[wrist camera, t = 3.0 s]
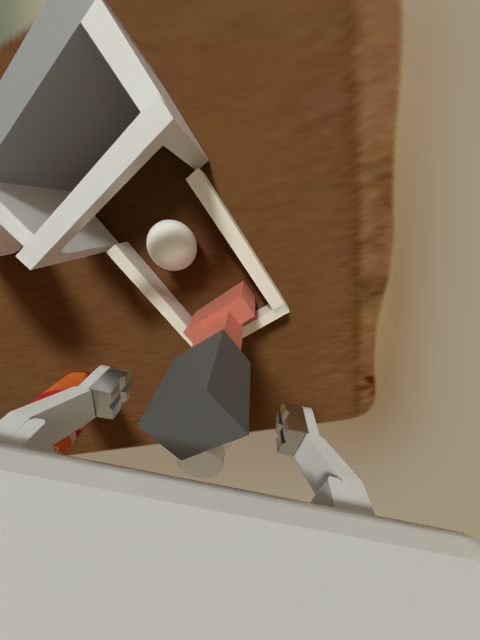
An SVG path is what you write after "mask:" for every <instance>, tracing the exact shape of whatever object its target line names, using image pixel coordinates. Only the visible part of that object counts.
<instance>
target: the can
mask: <svg viewBox="0 0 480 640" xmlns="http://www.w3.org/2000/svg"><path fill="white" fill-rule="evenodd" d="M22 246H23V245H22V244H21V243H20V242H19V241H18V240H17V239H15V238H14V237H13V236H12V235H11V234H10V233H9V232H8V231H7V230H6V229H5V228H4V227H3V226H2V225H1V224H0V256H4V255H9V254H13V253H15V252H17V251H18V250H20V249H21V247H22Z"/></svg>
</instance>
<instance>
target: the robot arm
mask: <svg viewBox="0 0 480 640" xmlns="http://www.w3.org/2000/svg"><path fill="white" fill-rule="evenodd" d="M131 378H132V372H131V371H128V370H123V369H119V368H115V367H110V366H105V365H101V366H99V367H98V368H96V369H95V370H94V371H93V372H92V373H91V374H90V375H89V376H88V377H87V378H86V379H85V380H84V381H83V382H82V383H81V384H80V385H79V386H78V387H75V386H74V387H71V388H69V389H66V390H64V391H61V392H59V393H56V394H54V395H51V396H49V397H46V398H44V399H41V400H39V401H36V402H34V403H31V404H29V405H26V406H24V407H21V408H19V409H16V410H13V411H11V412H9V413H8V414H7V415H6V416H4V417H3V418H2V419H1V420H0V640H480V543H479V542H477V541H476V540H475V539H474V538H472V537H471V536H469V535H467V534H464V533H462V532H458V531H454V530H449V529H444V528H438V527H433V526H428V525H423V524H418V523H413V522H407V521H402V520H397V519H392V518H386V517H381V516H376V515H375V514H374V511H373V509H372V506H371V504H370V501H369V499H368V496H367V494H366V491H365V489H364V486H363V484H362V482H361V480H360V479H359V478H358V477H357V476H356V475H355V473H354V472H353V471H352V470H351V469H350V468H349V467H348V465H347V464H346V463H345V462H344V461H343V460H342V458H341V457H340V456H339V455H338V454H337V453H336V452H335V450H334V449H333V448H332V447H331V446H330V445H329V443H328V442H327V441H326V440H325V439H324V438H323V437H321V436H320V435H319V431H318V428H317V424H316V421H315V418H314V414H313V411H312V409H311V408H308V407H303V406H298V405H293V404H288V403H283V404H282V405H281V407H280V408H281V412H279V413H278V415H277V417H276V423H275V429H276V433H277V434H278V437H277V450H278V453H282V454H287V455H291V456H294V458H295V460H296V462H297V463H298V465H299V467H300V469H301V470H302V472H303V474H304V475H305V477H306V479H307V481H308V482H309V484H310V486H311V488H312V489H313V491H314V493H315V494H316V495H315V496H314V498H313V499H312V501H311V502H310V503H309V502H303V501H299V500H293V499H288V498H283V497H278V496H273V495H268V494H262V493H257V492H252V491H246V490H242V489H237V488H231V487H226V486H220V485H216V484H210V483H206V482H200V481H195V480H190V479H185V478H179V477H174V476H169V475H164V474H159V473H154V472H148V471H143V470H138V469H133V468H128V467H123V466H117V465H112V464H107V463H102V462H96V461H92V460H86V459H81V458H76V457H71V456H66V455H61V454H56V453H55V450H54V447H53V445H54V444H55V443H57V442H58V441H60V440H61V439H63V438H65V437H66V436H68V435H69V434H71V433H72V432H74V431H76V430H77V429H79V428H80V427H82V426H83V425H85V424H86V423H88V422H90V421H91V420H93V419H94V418H96V417H101V418H107V419H114V418H115V417H116V415H117V414H118V412H119V411H120V409H121V404H122V403H124V402H126V401H127V399H128V398H129V396H130V394H131V392H132V387H133V384H132V382H131V381H130V379H131Z"/></svg>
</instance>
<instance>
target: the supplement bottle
mask: <svg viewBox="0 0 480 640" xmlns="http://www.w3.org/2000/svg"><path fill="white" fill-rule="evenodd" d="M231 443H232V441H231V442H228V443H226V444H223V445H221V446H218V447H215V448H213V449H210V450H208V451H205V452H202V453H200V454H197V455H195V456H192V457H189V458H187V459H184V460H182V461H181V460H180V459H179V458H177V463H178V466H179V467H180V469H182V470H183V471H184V472H186V473H188V474H190V475H193V476H197V477H211V476H214V475H216V474H218V473H219V472H220V471H221V470H222V467H223V461H224V451H225V450H226V449H227V448H228V447H229V446H230V444H231Z"/></svg>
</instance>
